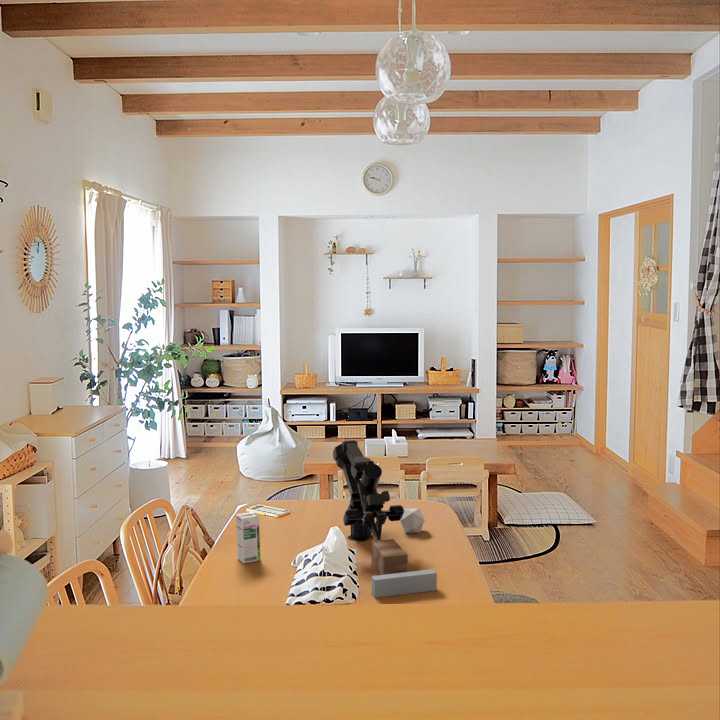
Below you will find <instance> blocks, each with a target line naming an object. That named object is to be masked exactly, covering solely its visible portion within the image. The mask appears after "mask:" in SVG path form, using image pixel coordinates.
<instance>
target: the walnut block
mask: <svg viewBox="0 0 720 720" xmlns="http://www.w3.org/2000/svg"><path fill="white" fill-rule="evenodd" d="M370 544H371V547H370V548H371V567H372V569H373V570H374V572H375V573H376V574H377V575H386V574H395V573H404V572H409V571H408V567H409V564H408V563H409V561H408V556H409V555H408V553H407V552H406V551H405V550H404V549H403V548H402V546H401V545H400V544H399V543H398V542H397V541H396V540H395V538H391V539H380V540H377V539H376V540H371V542H370Z"/></svg>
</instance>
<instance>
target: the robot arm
mask: <svg viewBox="0 0 720 720" xmlns="http://www.w3.org/2000/svg"><path fill="white" fill-rule="evenodd" d="M332 459H333V460H334V461H335V464H336V466H337V467H338V468H340V469H341V470H342V471H343V474H344V478H345V481H346V485H347V487H348V492H349V495H350V500H349V505H348V506H347V509H346V510H345V511H344V516H343V521H342V522H343V525H344V526H350V535H348V536H347V539H350V540H354V541H357V542H365V541H368V540H370V539H373V538H375V539H376V541H377V540H382V529H383V525H385V524H386V520H387V519H388V520H389V521H390V522H400V520H401V518H402V516H403V514H404V509H405V508H404V507H403V505H401V504H396V505H394V504H393V505H390V506H389V508H388V509H387V510H382V509H384V505H385V504H386V502H390V501H391V497H390V493H389V490H382V492H381V493H379V492H378V489H377V486H378V485H379V484H380V483H379V482H380V480H381V477H382V474H383V471H382V468H381V467H380V466H379V465H378V464H376V463H375V462H374V461H373V460H372V459H371V458H369V457H365V456H364V454H363V452H362V450H361V449H360V447H359V445H358V441H357V440H344V441H342V442H341V443H340V444H338V445H337V446H335V447H334V448H333V452H332ZM375 520H376V521H375Z"/></svg>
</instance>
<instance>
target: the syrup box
mask: <svg viewBox="0 0 720 720" xmlns="http://www.w3.org/2000/svg"><path fill="white" fill-rule="evenodd" d="M235 526H236V542H237V543H236V546H237V548H236V550H237V551H236V552H237V559H238V560H239V561H240V562H241V564H248V563H254V562H260V561H261V540H260V539H261V538H260V537H261V534H260V533H261V532H260V516H259V514H257V512H255V511H250V512H245V513H237V514H235Z"/></svg>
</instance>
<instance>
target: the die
mask: <svg viewBox="0 0 720 720" xmlns="http://www.w3.org/2000/svg"><path fill="white" fill-rule="evenodd" d="M425 520H426V519H425V518H424V515H423V513H422V511H421V509H420V508H404V514H403V516H402V518H401V520H399V523H400V524H401V527H402V528H403V531H404V533H405V534H415V533H416V534H420V533H421V531H422V528H423V526H424V523H425Z"/></svg>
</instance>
